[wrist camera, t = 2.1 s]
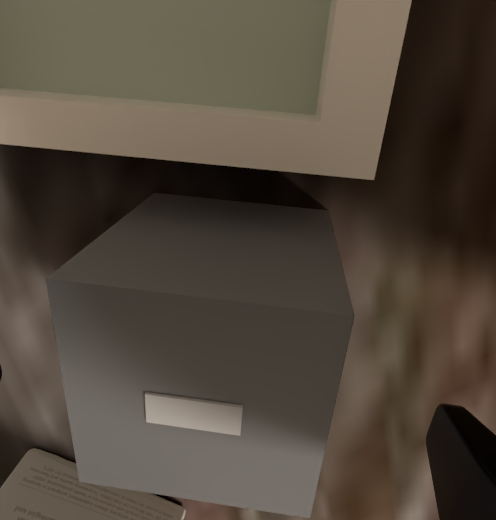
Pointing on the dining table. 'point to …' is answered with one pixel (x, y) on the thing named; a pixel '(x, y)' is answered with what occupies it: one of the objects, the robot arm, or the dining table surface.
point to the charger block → (205, 351)
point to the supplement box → (73, 495)
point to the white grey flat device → (204, 80)
